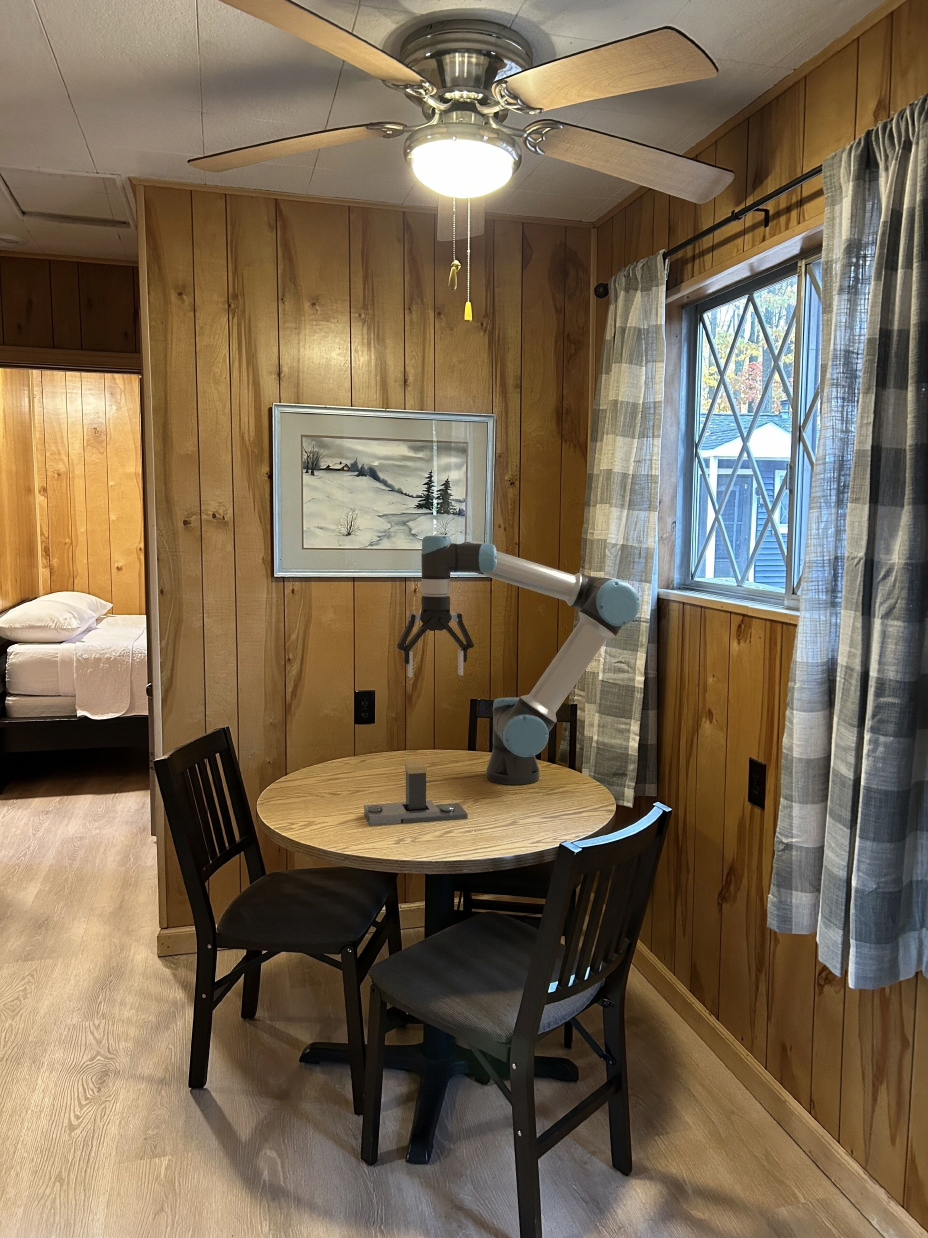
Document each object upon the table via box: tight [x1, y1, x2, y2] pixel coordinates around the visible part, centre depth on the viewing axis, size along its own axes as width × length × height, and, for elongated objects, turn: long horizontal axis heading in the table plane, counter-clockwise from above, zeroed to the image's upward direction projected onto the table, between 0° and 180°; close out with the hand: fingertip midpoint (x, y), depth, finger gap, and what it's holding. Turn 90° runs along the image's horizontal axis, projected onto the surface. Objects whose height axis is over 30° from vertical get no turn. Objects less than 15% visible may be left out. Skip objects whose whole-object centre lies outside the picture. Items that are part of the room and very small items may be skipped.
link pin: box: [404, 761, 428, 811], centre depth 222 cm, size 5×5×13 cm
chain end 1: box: [363, 799, 440, 827], centre depth 222 cm, size 17×9×3 cm, turn 105°
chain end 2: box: [401, 802, 469, 824], centre depth 224 cm, size 16×9×2 cm, turn 105°
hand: (435, 675), depth 239 cm, fingers open, 13 cm apart
